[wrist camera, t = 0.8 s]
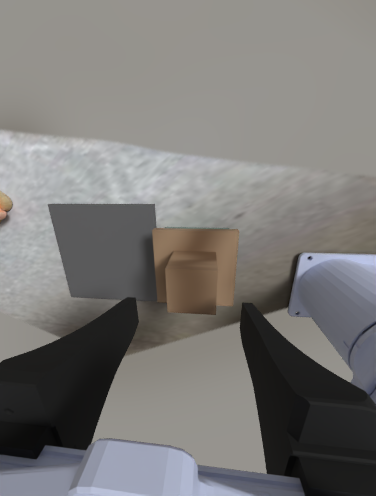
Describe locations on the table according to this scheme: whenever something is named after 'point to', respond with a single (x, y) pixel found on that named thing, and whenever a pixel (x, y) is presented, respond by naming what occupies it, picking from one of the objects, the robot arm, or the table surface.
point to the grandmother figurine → (4, 205)
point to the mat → (107, 249)
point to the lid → (195, 268)
